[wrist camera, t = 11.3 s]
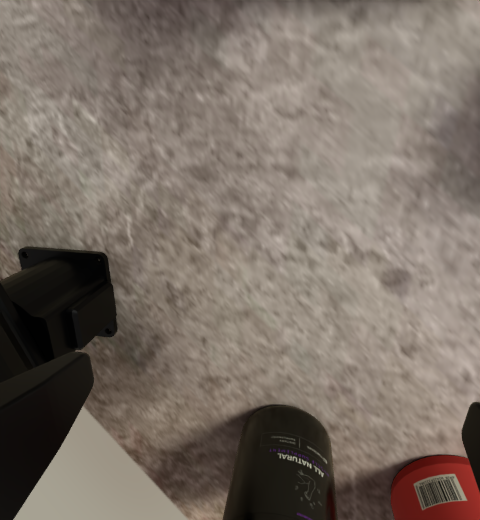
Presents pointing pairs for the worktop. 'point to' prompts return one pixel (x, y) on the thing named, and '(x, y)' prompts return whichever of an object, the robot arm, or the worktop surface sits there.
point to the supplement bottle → (282, 469)
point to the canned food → (436, 490)
